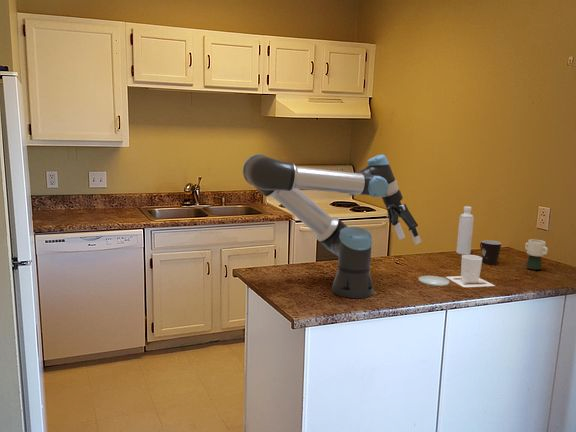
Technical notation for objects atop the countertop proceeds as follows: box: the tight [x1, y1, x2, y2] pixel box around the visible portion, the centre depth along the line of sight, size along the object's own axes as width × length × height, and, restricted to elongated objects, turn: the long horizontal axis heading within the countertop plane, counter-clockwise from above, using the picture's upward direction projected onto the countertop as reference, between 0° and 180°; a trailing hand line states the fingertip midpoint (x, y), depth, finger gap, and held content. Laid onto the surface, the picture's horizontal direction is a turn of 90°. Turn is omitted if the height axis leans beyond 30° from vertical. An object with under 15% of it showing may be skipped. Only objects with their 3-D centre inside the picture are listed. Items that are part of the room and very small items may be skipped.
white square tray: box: [445, 275, 496, 288], centre depth 209 cm, size 14×14×1 cm
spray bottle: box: [456, 206, 475, 255], centre depth 255 cm, size 7×7×25 cm
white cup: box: [460, 254, 483, 283], centre depth 208 cm, size 8×8×10 cm
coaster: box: [418, 275, 450, 287], centre depth 207 cm, size 12×12×1 cm
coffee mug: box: [479, 239, 502, 266], centre depth 240 cm, size 12×9×10 cm
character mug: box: [524, 239, 549, 271], centre depth 230 cm, size 11×7×13 cm, turn 29°
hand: (410, 240), depth 206 cm, fingers open, 13 cm apart
